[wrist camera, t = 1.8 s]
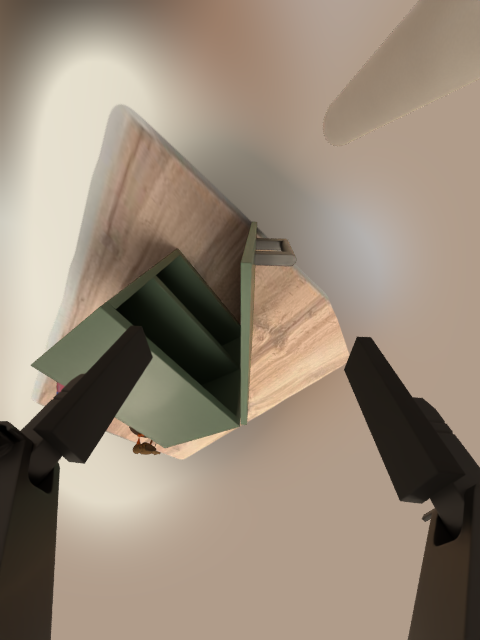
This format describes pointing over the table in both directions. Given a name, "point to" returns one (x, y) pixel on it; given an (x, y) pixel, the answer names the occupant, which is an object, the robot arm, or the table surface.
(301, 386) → the table surface
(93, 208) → the table surface
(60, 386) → the eraser
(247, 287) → the door
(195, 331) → the cupboard
